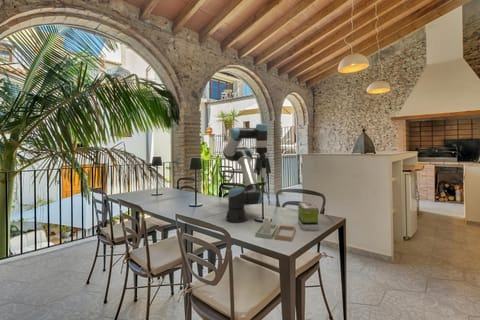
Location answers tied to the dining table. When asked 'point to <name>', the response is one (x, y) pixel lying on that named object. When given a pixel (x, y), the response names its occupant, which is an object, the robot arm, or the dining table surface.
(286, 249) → the dining table surface
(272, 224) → the tray
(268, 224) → the letter block
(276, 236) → the tray
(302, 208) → the tea box
